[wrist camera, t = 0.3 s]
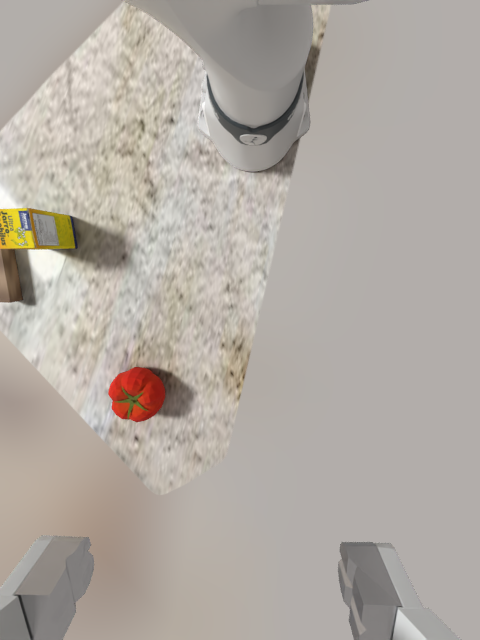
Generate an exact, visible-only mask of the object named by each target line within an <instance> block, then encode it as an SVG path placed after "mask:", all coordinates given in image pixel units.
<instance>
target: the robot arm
mask: <svg viewBox="0 0 480 640" xmlns="http://www.w3.org/2000/svg"><path fill="white" fill-rule="evenodd" d="M122 1H124V2H126V3H128V4H130V5H132V6H134V7H136V8H137V9H139V10H141V11H143V12H145V13H146V14H148V15H150V16H151V17H153V18H154V19H155V20H157V21H158V22H160V23H161V24H163V25H164V26H165V27H166V28H168V29H169V30H170V31H172V32H173V33H174V34H175V35H176V36H178V37H179V38H180V39H181V40H182V41H183V42H184V43H186V44H187V45H188V46H189V47H190V48H191V49H192V50H193V51H194V52H195V53H196V54H197V55H198V56H199V57H200V58H201V60H202V65H203V69H204V70H205V76H204V80H203V81H202V96H201V102H200V108H199V115H198V122H197V123H198V128H199V130H200V132H201V133H202V134H203V135H205V136H206V137H207V138H209V139H210V140H211V141H212V142H213V143H214V145H215V147H216V148H217V150H218V152H219V153H220V155H221V156H222V157H223V158H224V159H225V160H226V161H227V162H228V163H229V164H231V165H232V166H234V167H236V168H238V169H240V170H244V171H251V172H255V171H262V170H265V169H268V168H270V167H272V166H273V165H275V164H276V163H278V162H279V161H280V160H281V159H282V158H283V157H284V156H285V155H286V153H287V152H288V150H289V149H290V147H291V146H292V144H293V143H294V142H295V141H296V140H297V139H299V138H300V137H302V136H303V135H304V134H305V133H306V132H307V131H308V130H309V127H310V115H309V105H308V96H307V86H306V77H305V65H306V61H307V58H308V54H309V51H310V48H311V43H312V36H313V15H312V8H311V5H336V4H338V5H339V4H341V5H342V4H357V3H361V2H364V1H368V0H122ZM303 118H304V119H303ZM90 546H91V544H90V539H89V537H67V536H43V535H42V536H41V537H39V538H38V539H37V540H36V541H35V542H34V543H33V545H32V546H31V547H30V549H29V550H28V552H27V553H26V554H25V555H24V557H23V558H22V559H21V561H20V562H19V563H18V565H17V566H16V568H15V569H14V570H13V572H12V573H11V574H10V576H9V577H8V578H7V580H6V581H5V582H4V584H3V585H2V586H1V588H0V640H63V637H64V636H65V633H66V632H67V629H68V627H69V625H70V623H71V621H72V619H73V617H74V615H75V613H76V605H75V602H76V601H78V599H80V598H81V597H82V596H83V595H84V594H85V592H86V590H87V588H88V586H89V583H90V580H91V577H92V573H93V570H94V559H93V555H92V554H91V553H89V552H88V550H89V548H90ZM340 553H341V557H342V559H341V560H340V561H339V564H338V574H339V583H340V588H341V593H342V596H343V600H344V602H345V603H346V605H347V606H348V607H349V608H350V616H349V623H350V626H351V630H352V634H353V637H354V640H461V639H460V638H459V637H458V636H457V635H456V634H455V633H454V632H453V631H452V630H451V629H450V628H449V627H448V626H447V625H446V624H445V623H444V622H443V621H442V620H441V619H440V618H439V617H437V615H435V614H434V613H433V612H432V611H431V610H430V609H429V608H423V606H422V603H421V602H420V599H419V598H418V595H417V593H416V591H415V589H414V588H413V585H412V583H411V581H410V579H409V577H408V575H407V573H406V571H405V569H404V567H403V565H402V563H401V561H400V559H399V557H398V554H397V552H396V550H395V548H394V547H393V546H392V544H391V543H373V542H342V543H341V544H340Z"/></svg>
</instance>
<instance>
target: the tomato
mask: <svg viewBox="0 0 480 640" xmlns="http://www.w3.org/2000/svg"><path fill="white" fill-rule="evenodd" d="M109 396H110V397H111V399H112V400H113V402H112V410H113V411H114V412H115V414H116V415H117V416H119V417H120V418H122V419H131V420H133V421H135V422H140V421H145V420H147V419H149V418H151V417H152V416H154V415H155V414H156V413H157V412H158V411H159V410H160V408H161V407H162V405H163V402H164V399H165V388H164V385H163V383H162V381H161V380H160V378H159V377H158V376H156V375H155V374H153V373H152V372H151V370H149V369H146V368H141V367H134V368H133V369H131V370H129V371H126V372H122V373H120V374H119V375H118V376H117V377H116V378H115V379H114V380H113V382H112V383H111V385H110V388H109Z"/></svg>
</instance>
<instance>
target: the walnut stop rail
mask: <svg viewBox="0 0 480 640" xmlns="http://www.w3.org/2000/svg"><path fill="white" fill-rule="evenodd" d="M20 300H23V298H22V292H21V286H20V281H19V275H18V269H17V263H16V257H15V252H14V249H0V302H15V301H20Z"/></svg>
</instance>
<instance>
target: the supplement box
mask: <svg viewBox="0 0 480 640" xmlns="http://www.w3.org/2000/svg"><path fill="white" fill-rule="evenodd" d="M70 248H77V242H76V236H75V230H74V224H73V219H72V216H69V215H64V214H58V213H52V212H47V211H41V210H36V209H31V208H19V209H0V249H70Z"/></svg>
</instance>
